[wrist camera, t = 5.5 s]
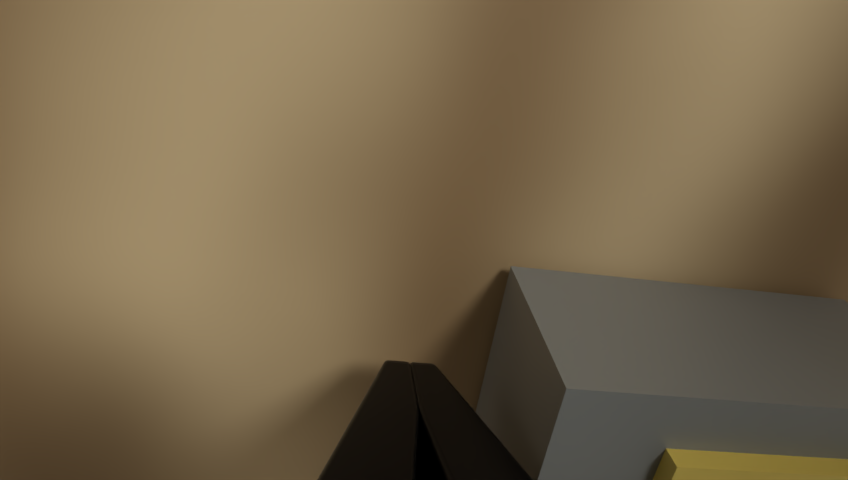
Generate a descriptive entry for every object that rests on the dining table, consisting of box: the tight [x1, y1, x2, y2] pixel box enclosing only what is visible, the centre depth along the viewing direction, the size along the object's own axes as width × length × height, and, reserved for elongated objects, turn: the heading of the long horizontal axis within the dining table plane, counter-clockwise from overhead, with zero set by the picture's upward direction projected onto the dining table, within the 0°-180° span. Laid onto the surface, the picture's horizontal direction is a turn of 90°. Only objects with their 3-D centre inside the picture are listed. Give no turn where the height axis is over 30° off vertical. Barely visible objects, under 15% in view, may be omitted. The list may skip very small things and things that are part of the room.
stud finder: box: [476, 266, 848, 480], centre depth 9 cm, size 6×4×3 cm, turn 81°
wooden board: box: [0, 0, 848, 480], centre depth 10 cm, size 22×19×3 cm
